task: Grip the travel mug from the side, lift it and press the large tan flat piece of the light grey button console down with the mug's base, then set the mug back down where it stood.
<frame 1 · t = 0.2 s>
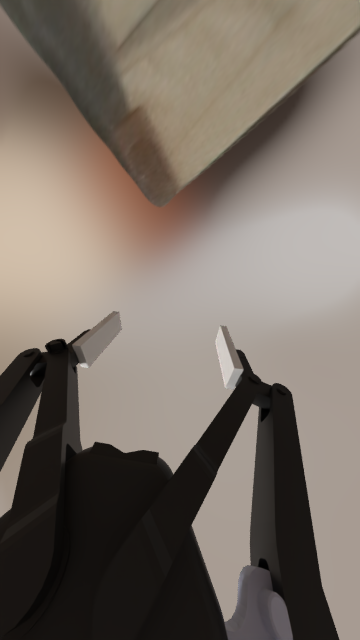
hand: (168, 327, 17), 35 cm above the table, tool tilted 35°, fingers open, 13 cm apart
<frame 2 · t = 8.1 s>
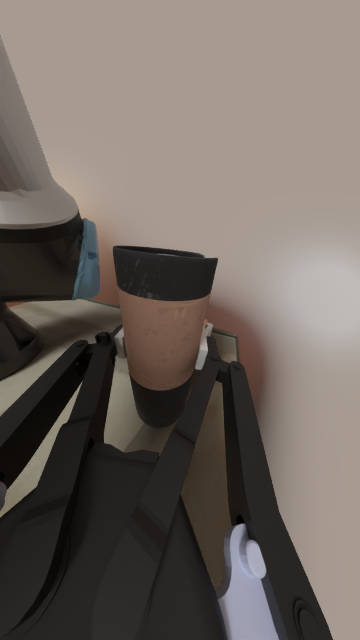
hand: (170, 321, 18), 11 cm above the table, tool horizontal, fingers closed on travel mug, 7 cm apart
travel mug: (160, 400, 20), on the table, touching gripper
tan flat piece: (181, 327, 30), point 4 cm above the table, slide at 0.0 cm
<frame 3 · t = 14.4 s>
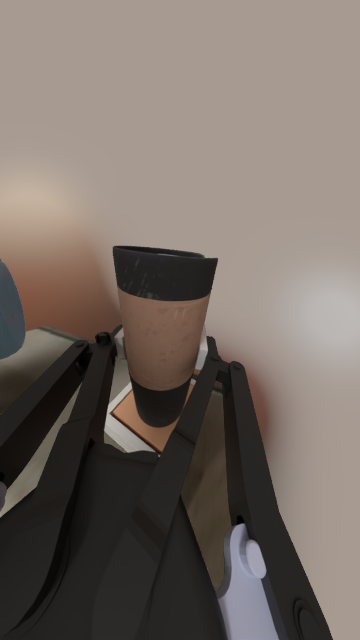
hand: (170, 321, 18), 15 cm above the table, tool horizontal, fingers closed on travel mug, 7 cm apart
travel mug: (160, 400, 20), point 4 cm above the table, touching gripper, tan flat piece
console: (159, 413, 22), on the table
tan flat piece: (160, 404, 21), point 3 cm above the table, slide at 1.2 cm, touching travel mug
when the fingers open (12 cm above the table, at t = 20.7 s): travel mug drops 1 cm, on the table.
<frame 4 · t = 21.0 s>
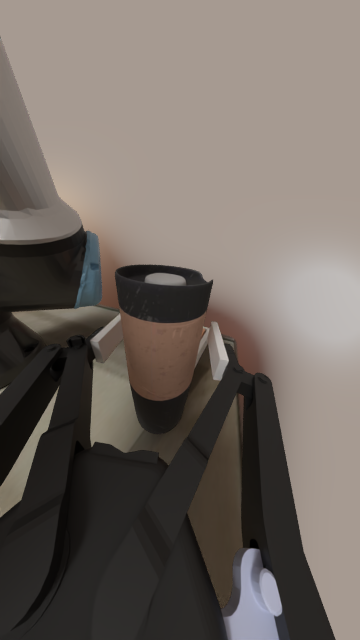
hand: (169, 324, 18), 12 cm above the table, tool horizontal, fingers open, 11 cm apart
travel mug: (160, 406, 20), on the table
tan flat piece: (180, 336, 32), point 3 cm above the table, slide at 1.3 cm
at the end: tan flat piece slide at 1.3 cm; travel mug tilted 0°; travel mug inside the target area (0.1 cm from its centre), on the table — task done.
